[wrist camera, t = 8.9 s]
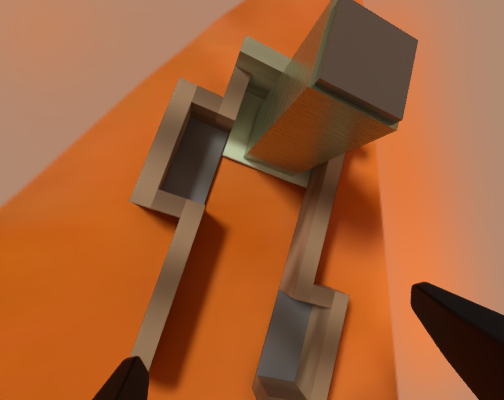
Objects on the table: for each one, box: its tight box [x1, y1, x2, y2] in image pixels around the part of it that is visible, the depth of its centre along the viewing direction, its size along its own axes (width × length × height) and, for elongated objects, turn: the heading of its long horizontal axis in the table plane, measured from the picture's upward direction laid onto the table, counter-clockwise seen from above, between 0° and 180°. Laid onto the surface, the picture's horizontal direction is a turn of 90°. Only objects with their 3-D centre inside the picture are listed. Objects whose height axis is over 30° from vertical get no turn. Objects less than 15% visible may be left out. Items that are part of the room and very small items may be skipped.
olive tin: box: [243, 0, 418, 177], centre depth 15 cm, size 4×4×10 cm
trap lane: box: [129, 36, 350, 400], centre depth 17 cm, size 22×16×4 cm
